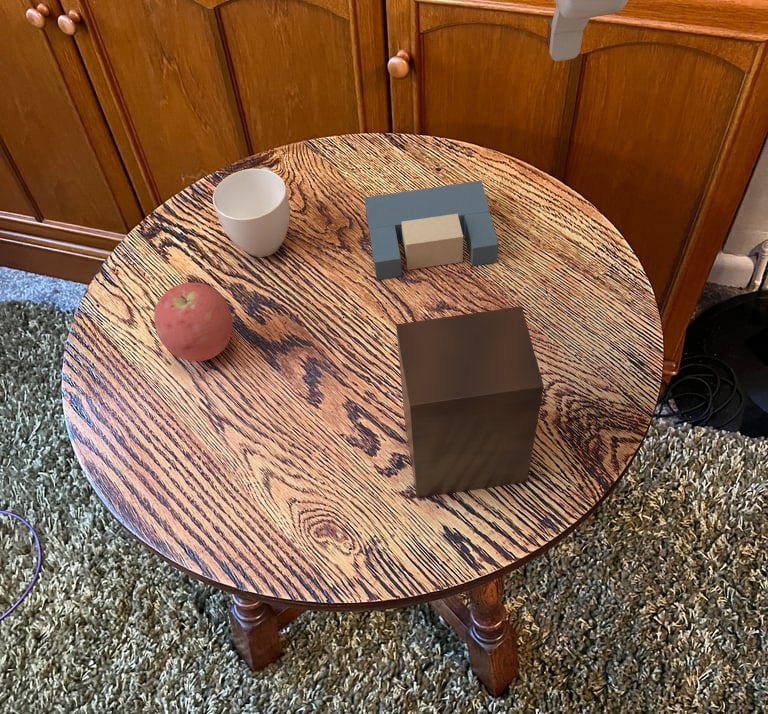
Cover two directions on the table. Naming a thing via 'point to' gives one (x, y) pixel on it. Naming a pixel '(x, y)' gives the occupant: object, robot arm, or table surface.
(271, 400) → the table surface
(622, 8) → the robot arm
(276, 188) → the cup
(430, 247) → the beige block
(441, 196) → the u-shaped bracket
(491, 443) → the block
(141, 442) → the table surface
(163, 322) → the apple
